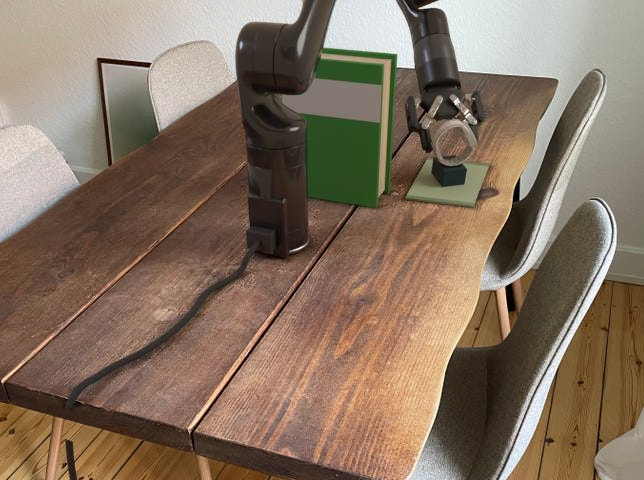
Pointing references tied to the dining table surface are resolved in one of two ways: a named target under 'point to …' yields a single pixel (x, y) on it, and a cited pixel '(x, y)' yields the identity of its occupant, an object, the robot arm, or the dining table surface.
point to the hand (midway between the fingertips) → (451, 149)
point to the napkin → (457, 195)
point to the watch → (451, 167)
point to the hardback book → (349, 125)
